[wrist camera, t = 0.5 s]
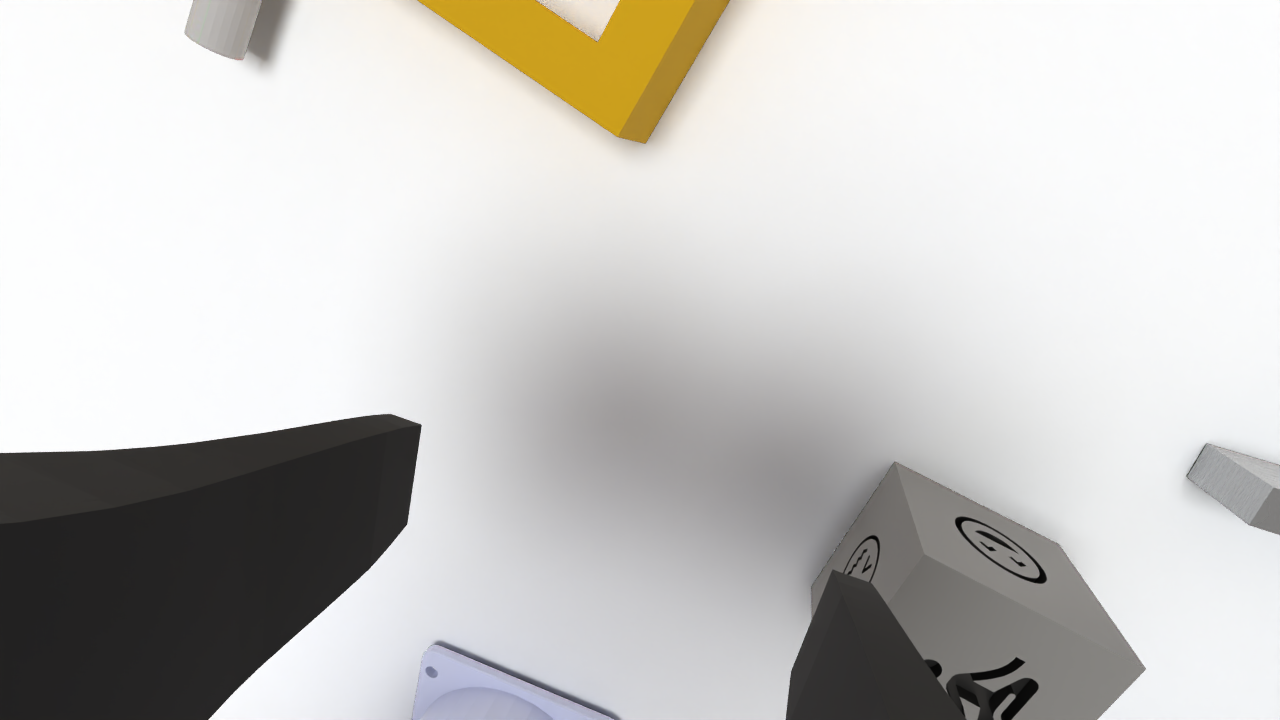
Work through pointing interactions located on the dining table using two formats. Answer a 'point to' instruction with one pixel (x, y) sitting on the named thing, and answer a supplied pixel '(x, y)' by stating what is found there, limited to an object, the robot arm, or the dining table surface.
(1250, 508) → the bar
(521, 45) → the multicolour toy assembly
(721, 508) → the dining table surface
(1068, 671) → the dice cube
